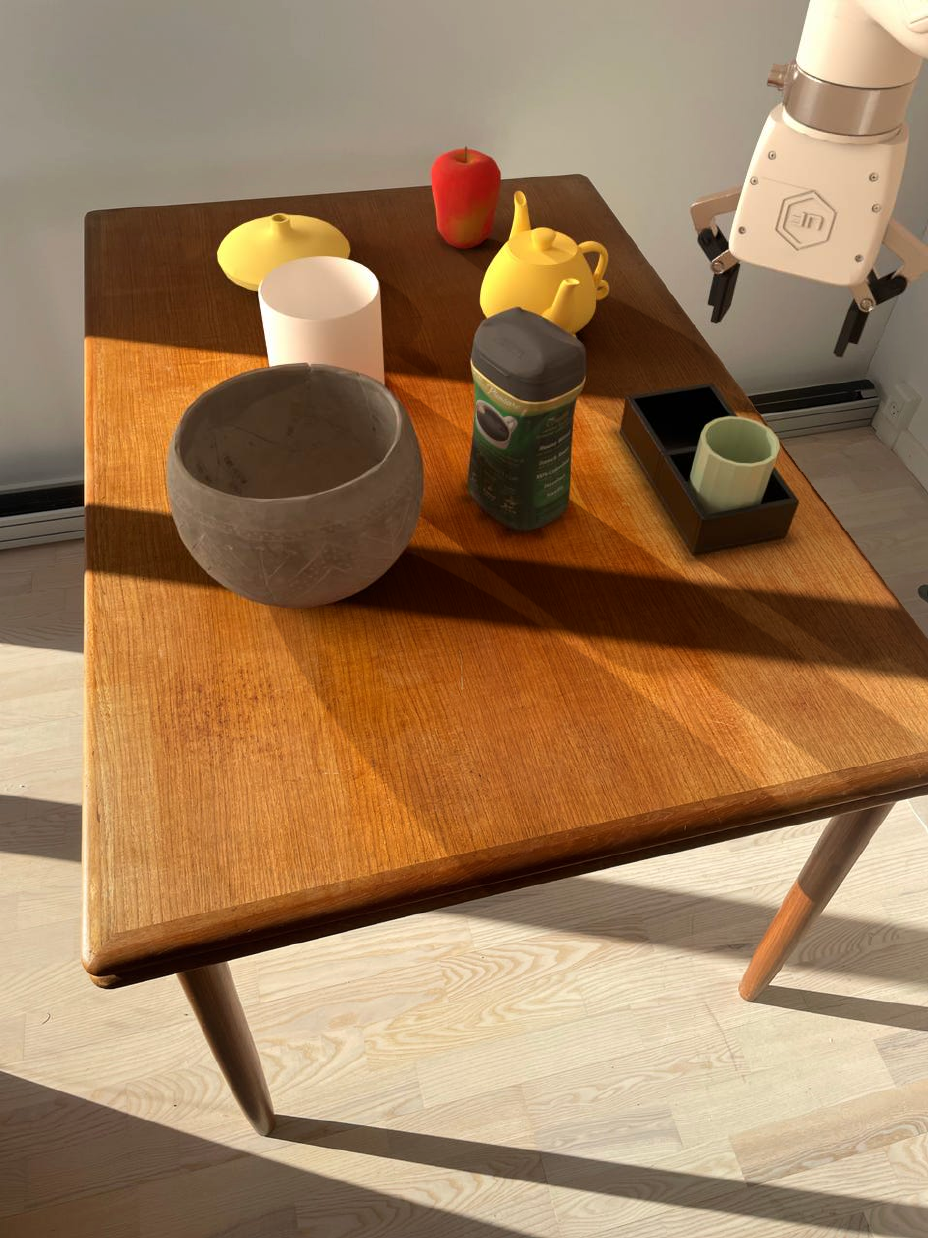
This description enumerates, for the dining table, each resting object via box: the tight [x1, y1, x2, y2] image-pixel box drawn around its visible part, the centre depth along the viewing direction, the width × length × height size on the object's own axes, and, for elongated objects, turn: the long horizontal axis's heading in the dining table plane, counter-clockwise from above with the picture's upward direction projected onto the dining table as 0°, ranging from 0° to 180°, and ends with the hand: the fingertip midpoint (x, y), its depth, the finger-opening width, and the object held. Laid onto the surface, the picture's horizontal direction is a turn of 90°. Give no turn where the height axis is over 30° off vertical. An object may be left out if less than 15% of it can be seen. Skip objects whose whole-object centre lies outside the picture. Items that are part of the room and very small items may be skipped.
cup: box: [258, 256, 386, 387], centre depth 98 cm, size 12×12×12 cm
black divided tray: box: [619, 381, 800, 557], centre depth 93 cm, size 18×9×5 cm, turn 16°
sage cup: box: [688, 416, 781, 514], centre depth 88 cm, size 7×7×8 cm
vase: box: [216, 212, 351, 293], centre depth 115 cm, size 16×16×7 cm
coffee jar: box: [467, 307, 587, 532], centre depth 85 cm, size 10×8×19 cm
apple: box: [430, 145, 502, 250], centre depth 119 cm, size 9×8×12 cm
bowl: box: [166, 363, 425, 609], centre depth 81 cm, size 21×21×15 cm
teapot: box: [479, 190, 610, 339], centre depth 107 cm, size 20×15×12 cm
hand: (779, 331), depth 75 cm, fingers open, 9 cm apart
